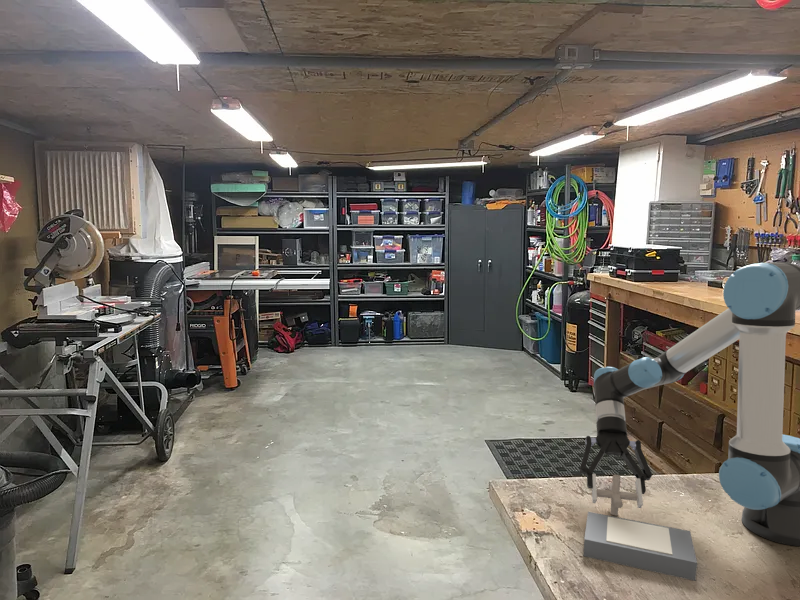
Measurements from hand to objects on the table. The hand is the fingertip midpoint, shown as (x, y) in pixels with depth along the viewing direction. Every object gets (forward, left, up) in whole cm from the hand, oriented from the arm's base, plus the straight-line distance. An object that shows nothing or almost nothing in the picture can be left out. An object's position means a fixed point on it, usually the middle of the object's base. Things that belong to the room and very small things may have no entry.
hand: (617, 503), depth 137 cm
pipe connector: (+1, -3, -4) cm, 5 cm away
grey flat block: (-4, +13, -4) cm, 14 cm away
